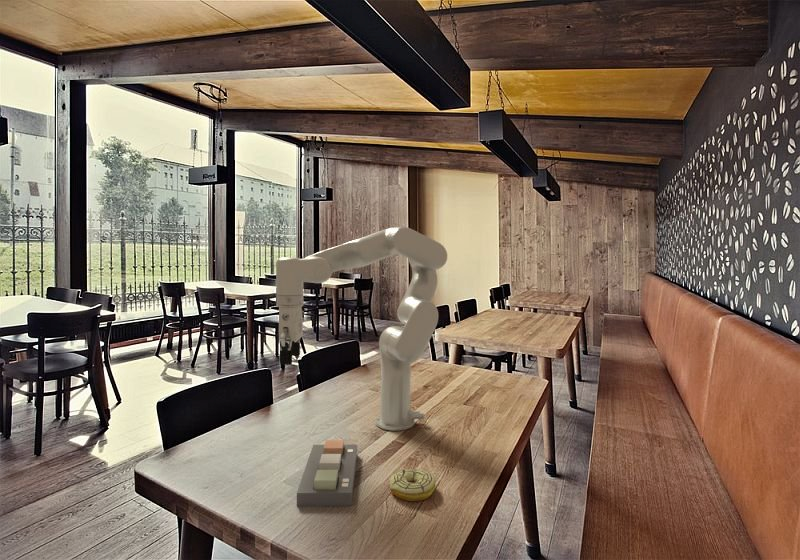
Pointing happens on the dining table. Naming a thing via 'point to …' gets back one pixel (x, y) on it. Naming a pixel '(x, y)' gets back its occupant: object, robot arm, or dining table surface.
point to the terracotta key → (334, 447)
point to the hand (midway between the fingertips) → (290, 359)
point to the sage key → (326, 480)
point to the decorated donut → (412, 484)
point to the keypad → (344, 486)
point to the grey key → (330, 462)
